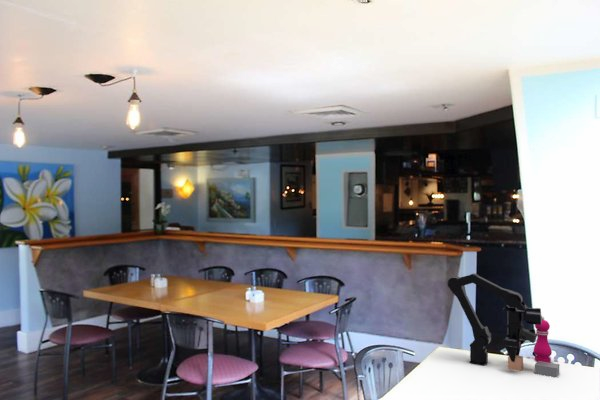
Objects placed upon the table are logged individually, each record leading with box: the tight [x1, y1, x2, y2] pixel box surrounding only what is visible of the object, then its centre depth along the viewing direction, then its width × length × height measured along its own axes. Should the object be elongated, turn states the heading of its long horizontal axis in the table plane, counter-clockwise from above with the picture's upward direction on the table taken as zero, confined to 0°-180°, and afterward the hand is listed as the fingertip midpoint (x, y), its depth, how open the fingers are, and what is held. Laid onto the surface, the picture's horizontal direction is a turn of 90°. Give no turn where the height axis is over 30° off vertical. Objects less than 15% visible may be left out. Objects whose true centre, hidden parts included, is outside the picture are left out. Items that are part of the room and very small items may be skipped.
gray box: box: [534, 361, 560, 378], centre depth 194 cm, size 8×7×4 cm
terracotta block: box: [507, 355, 524, 372], centre depth 201 cm, size 5×5×5 cm
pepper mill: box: [533, 315, 553, 363], centre depth 212 cm, size 7×7×20 cm
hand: (515, 359), depth 201 cm, fingers open, 9 cm apart
